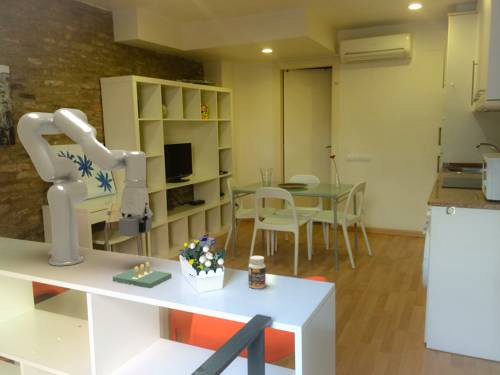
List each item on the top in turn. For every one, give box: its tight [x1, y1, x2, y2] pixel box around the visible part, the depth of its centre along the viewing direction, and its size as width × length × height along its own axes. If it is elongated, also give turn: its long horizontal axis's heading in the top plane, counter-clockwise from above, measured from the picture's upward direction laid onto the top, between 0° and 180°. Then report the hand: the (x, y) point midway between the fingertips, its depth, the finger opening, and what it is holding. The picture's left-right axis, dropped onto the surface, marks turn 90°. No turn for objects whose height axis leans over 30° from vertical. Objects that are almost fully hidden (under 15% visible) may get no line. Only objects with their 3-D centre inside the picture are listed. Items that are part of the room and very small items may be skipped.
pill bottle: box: [247, 255, 267, 290], centre depth 147 cm, size 6×6×10 cm
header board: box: [112, 261, 172, 289], centre depth 154 cm, size 16×12×5 cm
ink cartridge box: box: [190, 233, 217, 252], centre depth 162 cm, size 10×6×14 cm, turn 155°
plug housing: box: [118, 215, 153, 238], centre depth 167 cm, size 12×6×6 cm, turn 155°
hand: (135, 230), depth 168 cm, fingers closed on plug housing, 5 cm apart
